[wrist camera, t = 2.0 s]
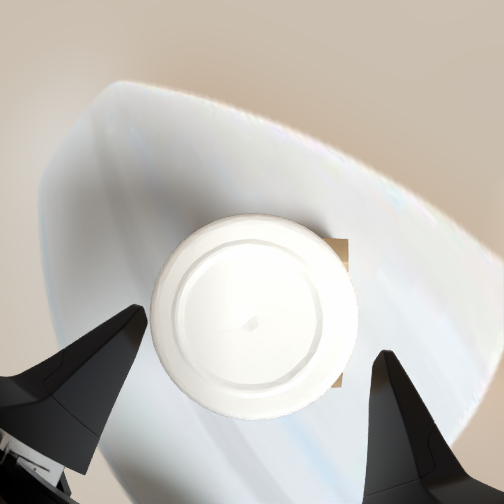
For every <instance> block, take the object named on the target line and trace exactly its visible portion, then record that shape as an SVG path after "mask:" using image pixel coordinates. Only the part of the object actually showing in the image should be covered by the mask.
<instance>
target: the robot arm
mask: <svg viewBox="0 0 504 504" xmlns="http://www.w3.org/2000/svg"><path fill="white" fill-rule="evenodd" d="M147 324H148V320H147V317H146V313H145V310H144V308H143V306H140V305H137V304H132V305H131V306H129V307H127V308H126V309H124V310H123V311H121V312H120V313H118V314H116V315H115V316H113V317H112V318H110V319H109V320H107V321H106V322H104V323H102V324H101V325H99V326H98V327H96V328H95V329H93V330H92V331H90V332H88V333H87V334H85V335H84V336H82V337H81V338H79V339H78V340H76V341H75V342H73V343H72V344H70V345H69V346H67V347H66V348H64V349H62V350H61V351H59V352H58V353H56V354H55V355H53V356H51V357H50V358H48V359H46V360H45V361H43V362H41V363H39V364H38V365H35V366H34V367H32V368H30V369H28V370H26V371H24V372H22V373H20V374H18V375H15V376H10V377H2V376H0V504H79V503H77V502H76V501H74V500H73V499H71V498H70V495H71V491H70V488H69V486H68V483H67V480H66V477H65V474H64V468H65V467H67V468H69V469H72V470H74V471H76V472H78V473H80V474H83V475H85V474H86V472H87V470H88V467H89V464H90V462H91V459H92V457H93V454H94V452H95V449H96V447H97V444H98V442H99V439H100V438H99V437H100V436H101V434H102V432H103V429H104V427H105V424H106V422H107V420H108V417H109V415H110V413H111V410H112V408H113V406H114V403H115V401H116V399H117V397H118V395H119V392H120V390H121V388H122V386H123V384H124V381H125V379H126V377H127V375H128V373H129V371H130V368H131V366H132V364H133V362H134V360H135V358H136V355H137V352H138V350H139V347H140V344H141V341H142V338H143V335H144V333H145V330H146V327H147ZM363 496H364V497H363V502H362V504H504V492H502V491H500V490H497V489H495V488H493V487H491V486H488V485H486V484H484V483H482V482H480V481H478V480H476V479H473V478H472V477H471V476H469V475H468V474H467V473H466V472H465V470H464V469H463V468H462V466H461V465H460V463H459V461H458V460H457V458H456V457H455V455H454V454H453V452H452V451H451V449H450V448H449V446H448V445H447V443H446V441H445V440H444V438H443V436H442V434H441V433H440V431H439V429H438V427H437V425H436V424H435V423H434V420H433V418H432V416H431V415H430V413H429V411H428V409H427V407H426V406H425V404H424V402H423V400H422V399H421V397H420V395H419V393H418V392H417V390H416V388H415V387H414V385H413V383H412V382H411V380H410V378H409V377H408V375H407V373H406V372H405V370H404V368H403V367H402V365H401V363H400V362H399V360H398V359H397V357H396V355H395V354H394V352H393V351H391V350H382V351H381V352H380V353H379V355H378V356H377V358H376V359H375V361H374V363H373V366H372V377H371V388H370V397H369V426H368V450H367V465H366V477H365V487H364V495H363Z"/></svg>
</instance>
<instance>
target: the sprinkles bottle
mask: <svg viewBox="0 0 504 504" xmlns="http://www.w3.org/2000/svg"><path fill="white" fill-rule="evenodd" d="M150 328H151V335H152V340H153V344H154V347H155V350H156V353H157V355H158V358H159V360H160V362H161V364H162V366H163V367H164V369H165V371H166V373H167V374H168V376H169V377H170V378H171V380H172V381H173V382H174V383H175V384H176V386H177V387H178V388H179V389H180V390H181V391H182V392H183V393H185V394H186V395H187V396H188V397H189V398H190V399H192V400H193V401H195V402H196V403H198V404H199V405H201V406H202V407H204V408H206V409H209V410H211V411H213V412H215V413H218V414H220V415H224V416H227V417H231V418H236V419H243V420H265V419H272V418H278V417H282V416H285V415H288V414H290V413H294V412H296V411H298V410H300V409H302V408H304V407H306V406H308V405H309V404H311V403H312V402H314V401H315V400H317V399H318V398H320V397H321V396H322V395H323V394H324V393H325V392H326V391H327V390H328V389H329V388H330V387H331V386H332V385H333V384H334V382H335V381H336V380H337V379H338V377H339V376H340V375H341V373H342V372H343V370H344V369H345V367H346V365H347V363H348V361H349V359H350V357H351V354H352V351H353V348H354V345H355V341H356V335H357V330H358V305H357V299H356V294H355V290H354V286H353V283H352V280H351V278H350V276H349V274H348V272H347V270H346V268H345V266H344V264H343V262H342V261H341V259H340V258H339V257H338V255H337V254H336V253H335V251H334V250H333V249H332V248H331V247H330V246H329V245H328V244H327V243H326V242H325V241H324V240H323V239H322V238H320V237H319V236H318V235H317V234H315V233H314V232H312V231H311V230H309V229H308V228H306V227H304V226H303V225H300V224H298V223H296V222H294V221H291V220H288V219H285V218H282V217H278V216H273V215H267V214H242V215H234V216H229V217H225V218H221V219H218V220H216V221H214V222H212V223H209V224H207V225H205V226H203V227H201V228H200V229H198V230H197V231H195V232H194V233H193V234H191V235H190V236H189V237H187V238H186V239H185V240H184V241H183V242H182V243H181V244H180V245H179V246H178V247H177V248H176V249H175V250H174V251H173V253H172V254H171V255H170V256H169V258H168V259H167V261H166V262H165V263H164V265H163V268H162V269H161V271H160V273H159V275H158V278H157V280H156V283H155V287H154V290H153V293H152V299H151V305H150Z"/></svg>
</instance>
